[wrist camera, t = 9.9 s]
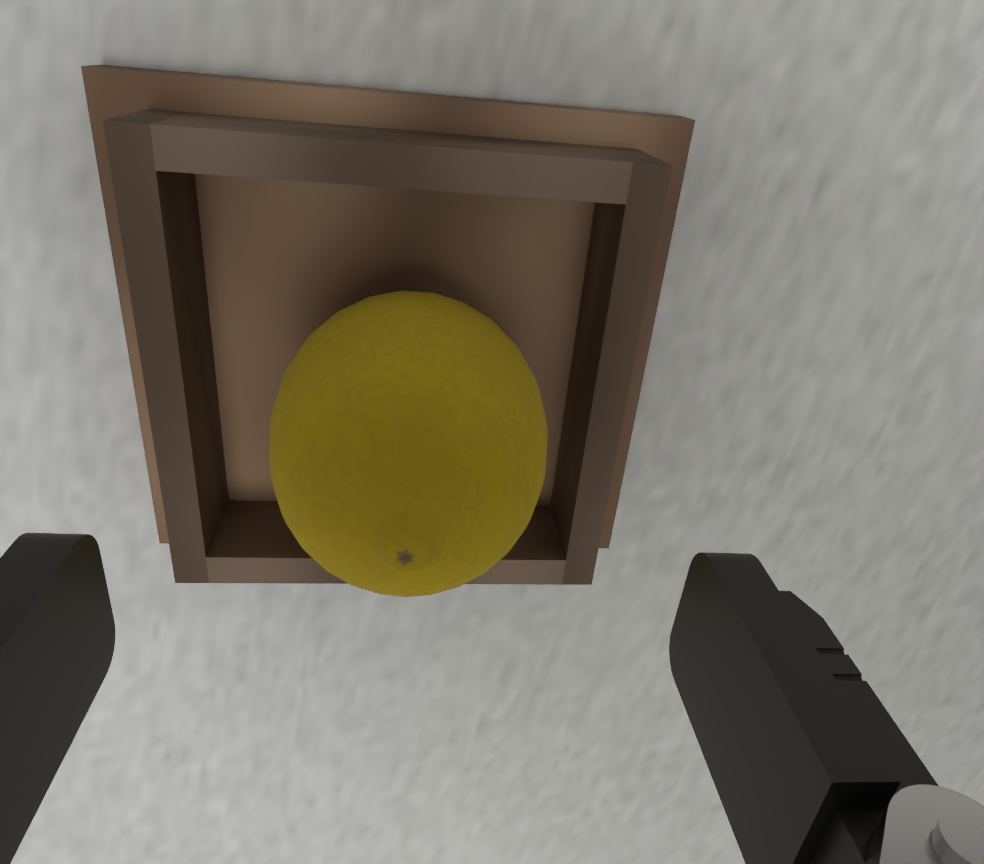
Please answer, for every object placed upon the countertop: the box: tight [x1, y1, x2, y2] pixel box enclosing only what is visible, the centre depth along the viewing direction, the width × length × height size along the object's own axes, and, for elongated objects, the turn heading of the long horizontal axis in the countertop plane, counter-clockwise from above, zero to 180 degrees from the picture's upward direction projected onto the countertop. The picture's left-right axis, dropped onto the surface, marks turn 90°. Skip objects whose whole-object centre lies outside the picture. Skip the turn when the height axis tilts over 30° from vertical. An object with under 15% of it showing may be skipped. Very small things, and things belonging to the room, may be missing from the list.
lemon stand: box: [81, 65, 695, 584], centre depth 17 cm, size 13×12×4 cm
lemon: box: [269, 291, 548, 597], centre depth 15 cm, size 6×6×8 cm
